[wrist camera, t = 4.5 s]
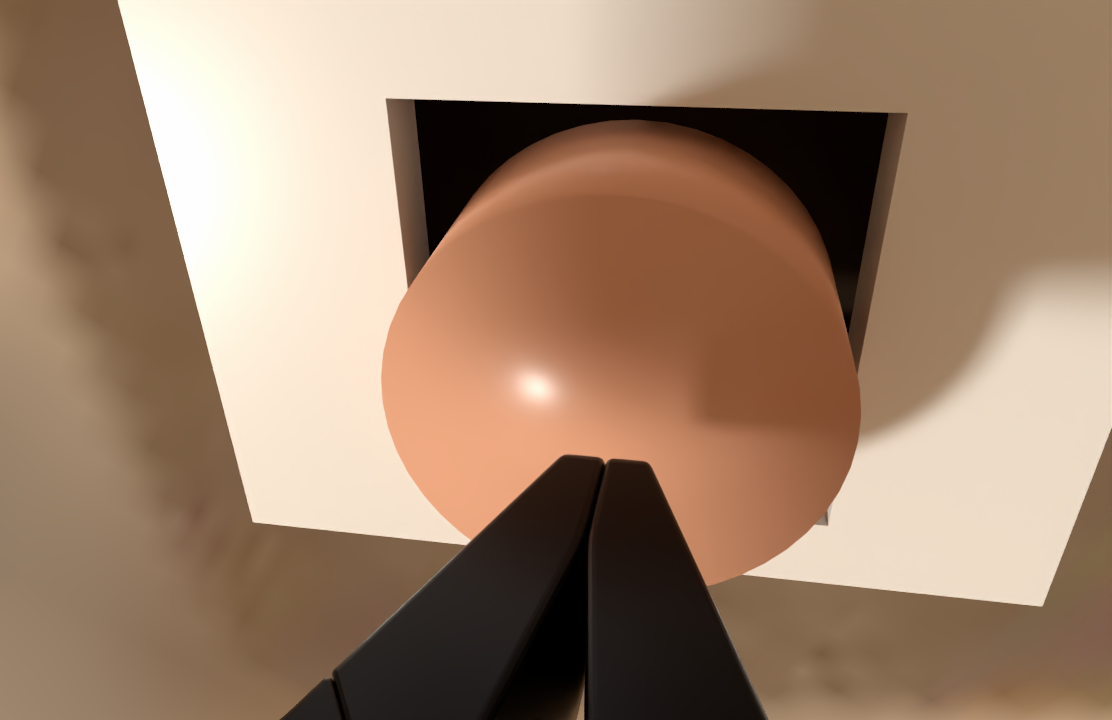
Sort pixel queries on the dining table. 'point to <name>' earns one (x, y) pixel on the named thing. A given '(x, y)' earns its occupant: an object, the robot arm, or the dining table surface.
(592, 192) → the terracotta button
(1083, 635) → the dining table surface
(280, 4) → the button console
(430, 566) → the dining table surface
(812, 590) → the dining table surface
